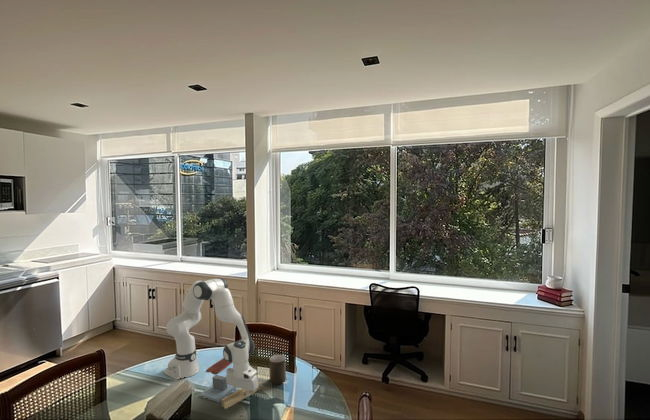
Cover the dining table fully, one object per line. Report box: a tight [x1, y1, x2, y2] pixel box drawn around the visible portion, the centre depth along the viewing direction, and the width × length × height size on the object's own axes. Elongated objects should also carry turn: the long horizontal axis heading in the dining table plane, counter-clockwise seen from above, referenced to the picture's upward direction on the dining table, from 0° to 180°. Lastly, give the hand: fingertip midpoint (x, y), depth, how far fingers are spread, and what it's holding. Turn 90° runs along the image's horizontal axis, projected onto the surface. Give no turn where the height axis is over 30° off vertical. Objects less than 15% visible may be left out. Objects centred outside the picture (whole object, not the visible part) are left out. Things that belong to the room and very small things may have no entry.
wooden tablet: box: [205, 357, 232, 375], centre depth 229 cm, size 27×10×2 cm, turn 157°
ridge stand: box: [199, 374, 235, 403], centre depth 198 cm, size 14×18×8 cm
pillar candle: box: [269, 354, 287, 385], centre depth 207 cm, size 10×10×15 cm
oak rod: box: [221, 380, 263, 410], centre depth 191 cm, size 4×24×4 cm, turn 139°
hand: (242, 394), depth 191 cm, fingers closed on oak rod, 5 cm apart
